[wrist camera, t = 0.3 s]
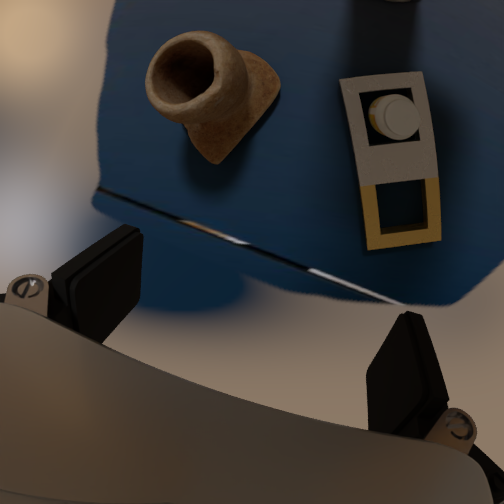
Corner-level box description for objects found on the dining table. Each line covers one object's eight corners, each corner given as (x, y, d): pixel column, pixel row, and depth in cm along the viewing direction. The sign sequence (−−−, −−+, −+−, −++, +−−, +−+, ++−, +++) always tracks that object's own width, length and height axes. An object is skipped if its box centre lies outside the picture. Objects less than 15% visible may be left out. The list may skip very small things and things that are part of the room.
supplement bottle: (371, 92, 36) (383, 86, 28) (409, 102, 36) (430, 101, 27) (364, 130, 39) (374, 134, 30) (401, 140, 38) (421, 148, 30)
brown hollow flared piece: (228, 33, 37) (185, 4, 24) (294, 85, 38) (278, 71, 25) (163, 113, 44) (102, 119, 30) (221, 164, 45) (177, 189, 32)
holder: (338, 81, 37) (339, 79, 34) (416, 73, 34) (421, 71, 31) (365, 242, 45) (367, 250, 43) (435, 233, 42) (441, 240, 40)
